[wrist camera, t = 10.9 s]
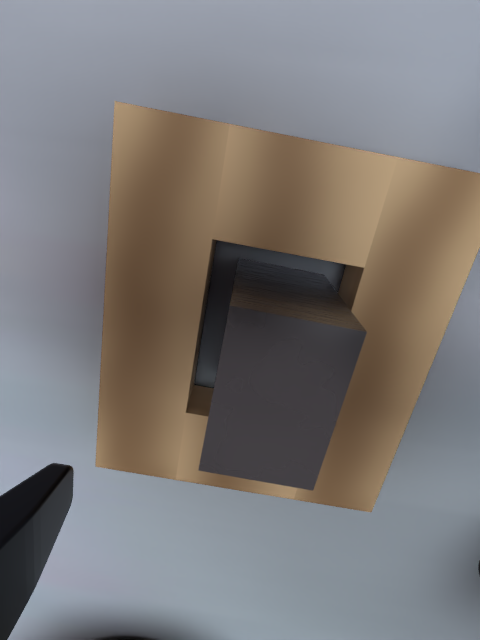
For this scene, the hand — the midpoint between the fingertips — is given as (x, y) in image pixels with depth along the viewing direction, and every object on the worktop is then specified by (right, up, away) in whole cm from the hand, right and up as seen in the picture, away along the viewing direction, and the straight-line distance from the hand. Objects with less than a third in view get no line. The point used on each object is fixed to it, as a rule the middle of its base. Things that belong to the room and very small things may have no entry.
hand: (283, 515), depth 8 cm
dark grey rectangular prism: (0, +4, +10) cm, 11 cm away
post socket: (0, +4, +10) cm, 11 cm away
